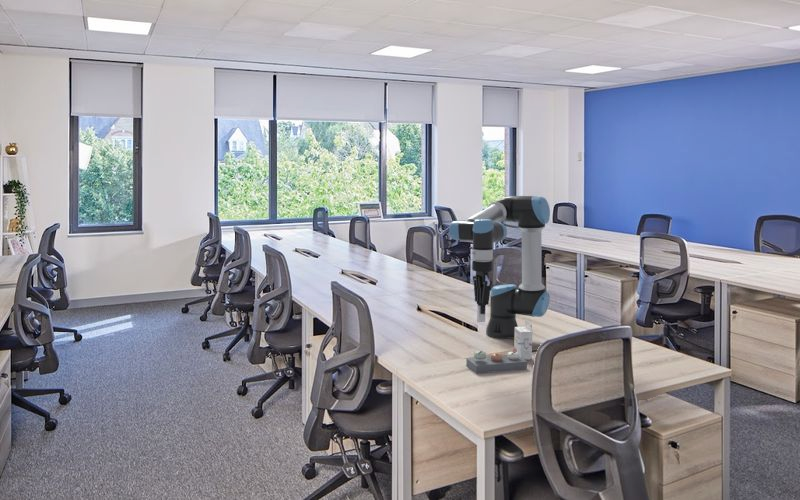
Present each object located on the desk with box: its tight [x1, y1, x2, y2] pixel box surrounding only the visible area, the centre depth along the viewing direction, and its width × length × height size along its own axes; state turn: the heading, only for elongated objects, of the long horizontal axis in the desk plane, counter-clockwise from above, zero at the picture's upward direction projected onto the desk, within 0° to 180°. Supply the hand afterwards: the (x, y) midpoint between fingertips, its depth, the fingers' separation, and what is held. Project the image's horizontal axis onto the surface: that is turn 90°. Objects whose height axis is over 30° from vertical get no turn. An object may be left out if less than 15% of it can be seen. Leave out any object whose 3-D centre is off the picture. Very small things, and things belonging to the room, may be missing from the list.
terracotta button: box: [490, 352, 503, 361], centre depth 245 cm, size 4×4×2 cm
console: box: [465, 354, 528, 374], centre depth 245 cm, size 21×10×3 cm, turn 105°
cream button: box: [507, 351, 519, 360], centre depth 247 cm, size 4×4×2 cm
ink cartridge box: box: [513, 319, 533, 361], centre depth 259 cm, size 9×5×15 cm, turn 9°
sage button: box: [473, 350, 487, 360], centre depth 243 cm, size 4×4×2 cm
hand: (481, 321), depth 241 cm, fingers closed
